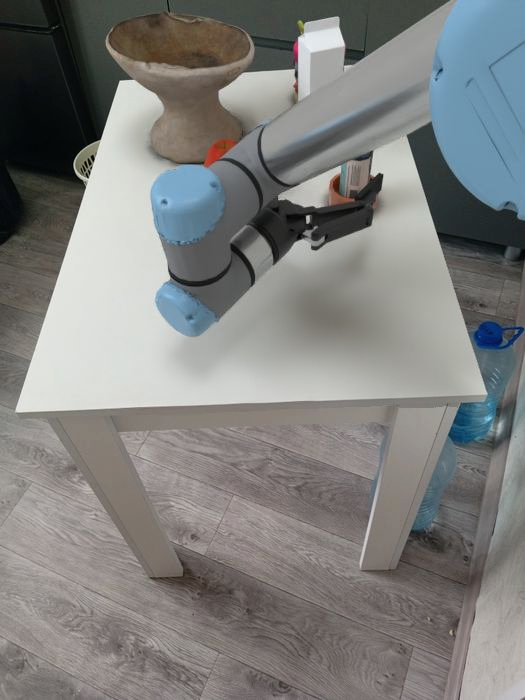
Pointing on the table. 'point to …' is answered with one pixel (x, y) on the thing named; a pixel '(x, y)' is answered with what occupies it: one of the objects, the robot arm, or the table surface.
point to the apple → (218, 151)
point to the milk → (319, 55)
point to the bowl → (184, 77)
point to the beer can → (355, 175)
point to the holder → (334, 192)
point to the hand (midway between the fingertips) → (340, 166)
